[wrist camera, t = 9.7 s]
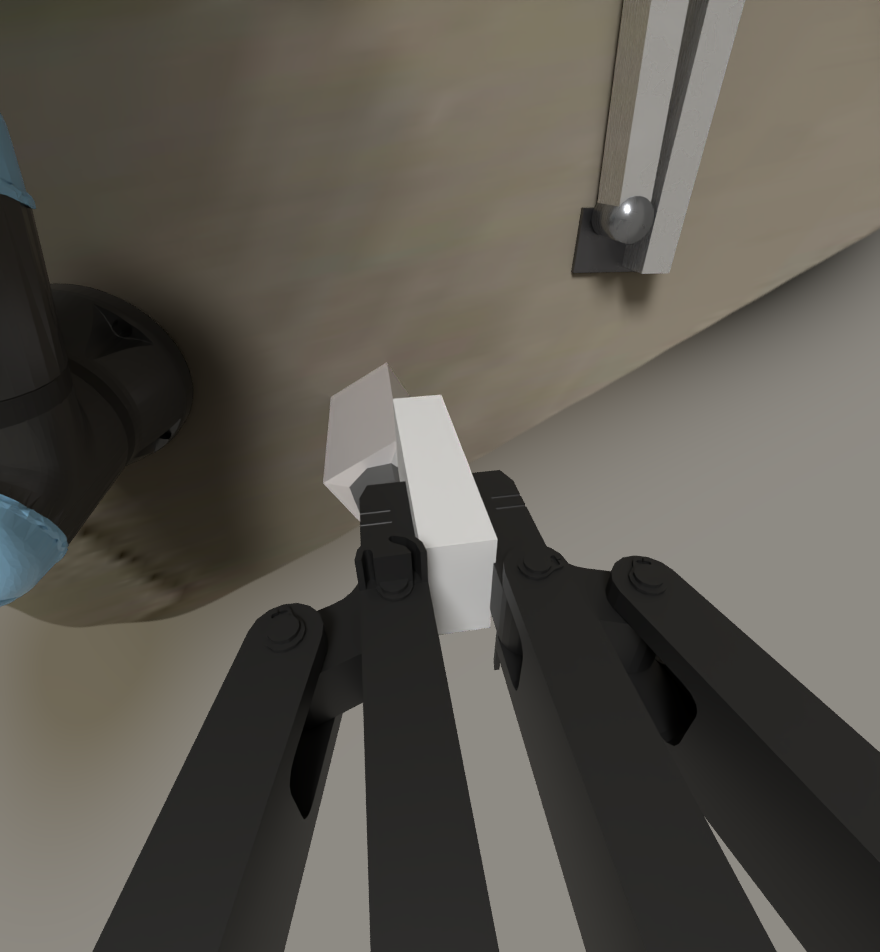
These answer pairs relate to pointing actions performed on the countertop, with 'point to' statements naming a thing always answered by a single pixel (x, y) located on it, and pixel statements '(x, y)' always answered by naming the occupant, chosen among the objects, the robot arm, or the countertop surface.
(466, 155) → the countertop surface
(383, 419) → the soap dispenser
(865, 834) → the robot arm
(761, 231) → the countertop surface
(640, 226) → the tongs hinged arm
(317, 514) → the countertop surface
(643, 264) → the tongs fixed arm
